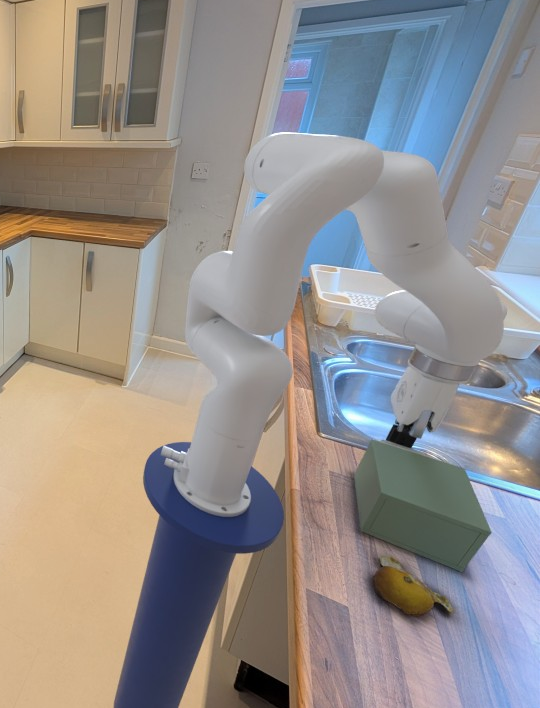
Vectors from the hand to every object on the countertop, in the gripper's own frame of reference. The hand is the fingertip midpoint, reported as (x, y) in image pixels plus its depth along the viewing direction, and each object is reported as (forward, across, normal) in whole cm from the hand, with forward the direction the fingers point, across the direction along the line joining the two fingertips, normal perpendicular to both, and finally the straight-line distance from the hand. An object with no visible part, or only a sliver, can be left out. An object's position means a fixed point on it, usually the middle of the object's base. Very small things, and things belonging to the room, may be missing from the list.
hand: (396, 446), depth 79 cm
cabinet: (+4, +15, 0) cm, 15 cm away
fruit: (+4, +30, -1) cm, 30 cm away
